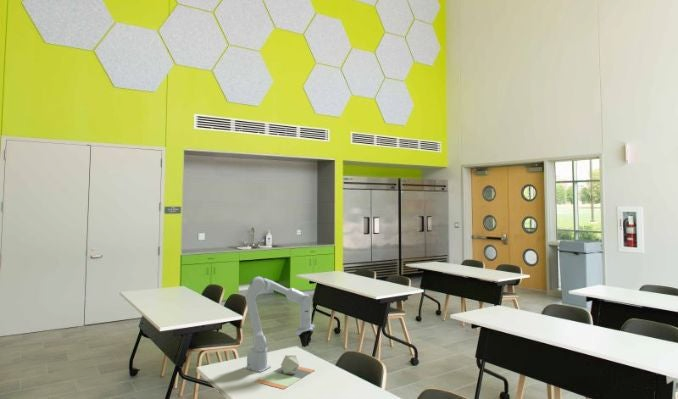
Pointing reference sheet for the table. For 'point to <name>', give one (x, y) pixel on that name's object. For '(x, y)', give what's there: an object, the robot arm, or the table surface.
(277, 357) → the table surface
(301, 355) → the table surface
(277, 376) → the mat
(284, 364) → the die
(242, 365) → the table surface
